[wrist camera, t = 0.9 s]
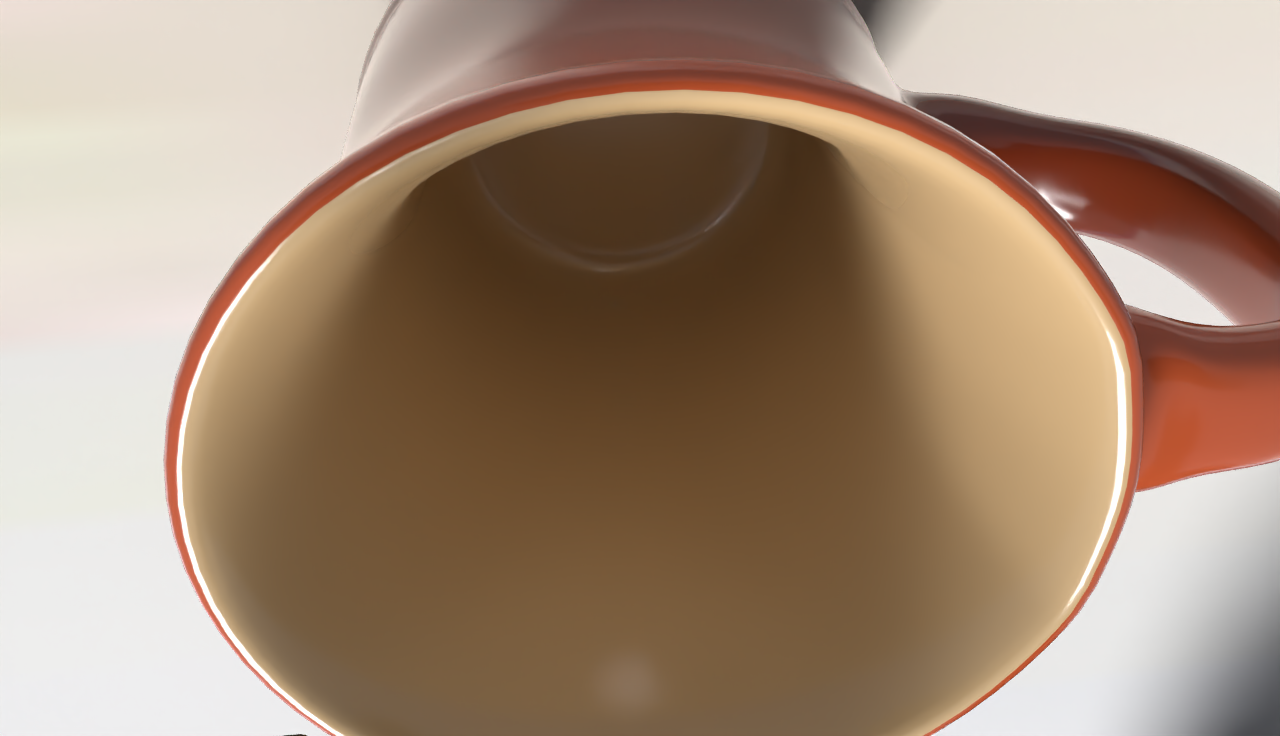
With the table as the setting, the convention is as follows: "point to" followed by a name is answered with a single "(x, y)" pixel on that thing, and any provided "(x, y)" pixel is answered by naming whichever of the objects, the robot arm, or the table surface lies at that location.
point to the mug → (696, 381)
